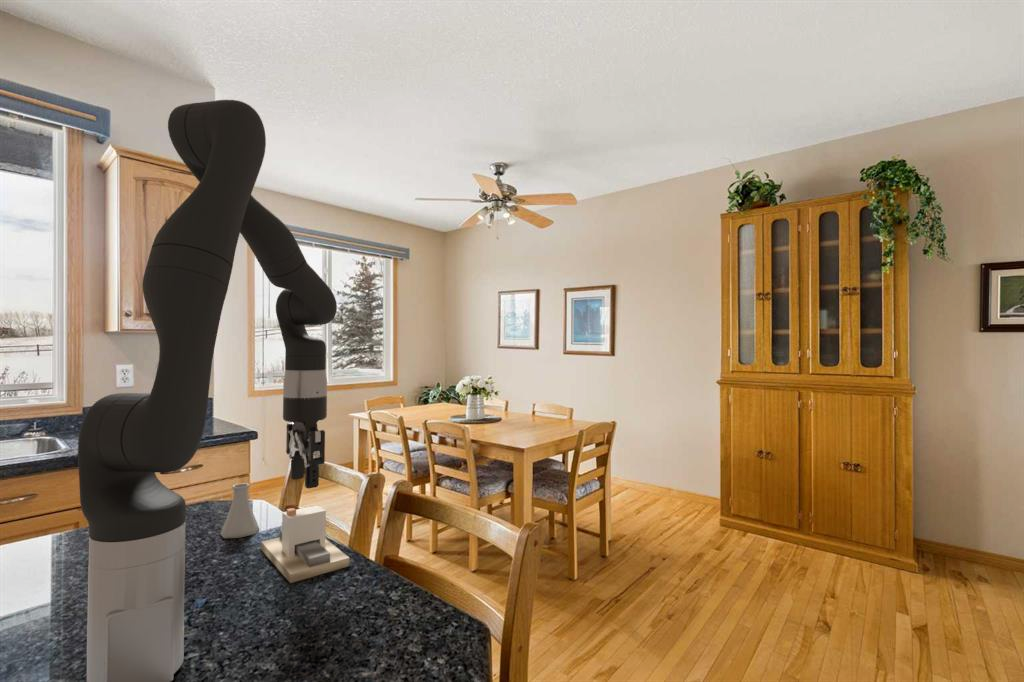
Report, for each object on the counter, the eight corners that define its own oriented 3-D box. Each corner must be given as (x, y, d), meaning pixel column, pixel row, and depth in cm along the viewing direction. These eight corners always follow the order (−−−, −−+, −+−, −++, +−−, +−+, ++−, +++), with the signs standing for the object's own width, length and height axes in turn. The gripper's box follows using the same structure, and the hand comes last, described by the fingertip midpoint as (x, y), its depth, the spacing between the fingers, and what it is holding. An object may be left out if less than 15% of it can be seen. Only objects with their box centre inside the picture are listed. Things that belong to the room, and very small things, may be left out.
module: (325, 548, 92) (325, 506, 93) (288, 557, 88) (289, 513, 88) (317, 541, 96) (318, 501, 96) (281, 550, 91) (282, 508, 91)
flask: (221, 529, 106) (222, 482, 106) (259, 524, 109) (260, 479, 109) (218, 542, 99) (219, 491, 99) (259, 536, 102) (259, 487, 102)
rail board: (349, 566, 88) (349, 549, 88) (290, 583, 82) (290, 564, 82) (313, 536, 102) (313, 522, 102) (260, 549, 96) (261, 533, 96)
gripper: (340, 396, 89) (339, 487, 89) (312, 390, 100) (311, 472, 100) (296, 398, 85) (295, 495, 84) (272, 392, 95) (271, 478, 95)
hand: (304, 482), depth 92 cm, fingers open, 7 cm apart
